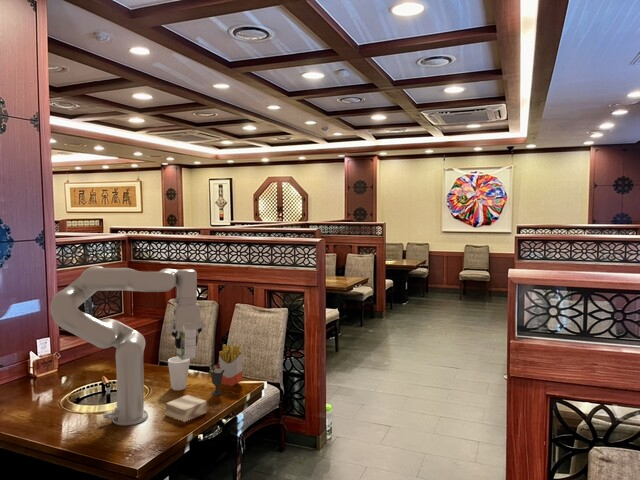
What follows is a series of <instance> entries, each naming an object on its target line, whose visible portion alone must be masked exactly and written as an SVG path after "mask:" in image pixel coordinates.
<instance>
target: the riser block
mask: <svg viewBox="0 0 640 480" xmlns="http://www.w3.org/2000/svg"><path fill="white" fill-rule="evenodd" d="M207 403H208V401H207V400H205V399H202V398H199V397H196V396H193V395H190V394H186V395H183V396H181V397H179V398H175V399H173V400H171V401H168V402H165V416H168V417H170V418H172V417H173V418H172V419H175V420H177V419H178V420H177V421H180V420H181V421H180V422H182V421H183V423H186V422H185V421H187V422H189V421H191V420H193V419H195V418H198V417H200V416H202V415H205V414H206V413H207V412H208V411H207V409H208V408H207ZM190 419H191V420H190ZM188 420H189V421H188Z"/></svg>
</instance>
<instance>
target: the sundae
mask: <svg viewBox="0 0 640 480" xmlns="http://www.w3.org/2000/svg"><path fill="white" fill-rule="evenodd" d="M219 362H220V361H219V360H218V362H217V364H213V367H212V369H210V370H209V371H208V372H209V374H210V377H211V382H212V384H213V386H214V387H215V389H214V391H212V392H211V393H210V395H211V396H220V395H223V391H221V390H219V386H220V385H221V384H222V376H223V373H224V372H225V370H223V369H222V368H221V366H220V364H219Z"/></svg>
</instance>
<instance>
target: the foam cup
mask: <svg viewBox="0 0 640 480" xmlns="http://www.w3.org/2000/svg"><path fill="white" fill-rule="evenodd" d="M190 364H191V358H190V359H185V360H182V359H180V358H179V357H177V356H173V357H170V358H169V359H167V367H168V371H169V372H168V373H169V380H170V387H171V390H172V389H173V390H172V391H182V390H185V389H186V388H187V385H188V383H187V382H188V375H189V369H190Z"/></svg>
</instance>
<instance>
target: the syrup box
mask: <svg viewBox="0 0 640 480" xmlns="http://www.w3.org/2000/svg"><path fill="white" fill-rule="evenodd" d="M188 324H191V323H187V325H188ZM192 324H193V323H192ZM189 326H190V325H189ZM180 339H181V348H180V349H178V348H177V347H176V357H179V358H180V359H182V360H185V359H190V360H191V359H195V358H197V357H196V356H197V355H196V353H197V352H196V351H197V348H196V347H197V346H196V329H194V330H188V329H185V328H184V325H183V331H182V332H181V335H180Z"/></svg>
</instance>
